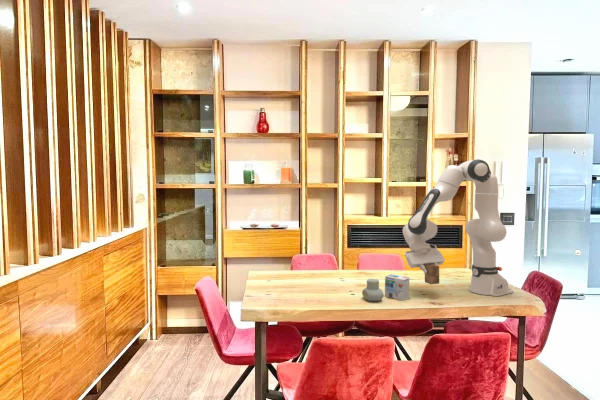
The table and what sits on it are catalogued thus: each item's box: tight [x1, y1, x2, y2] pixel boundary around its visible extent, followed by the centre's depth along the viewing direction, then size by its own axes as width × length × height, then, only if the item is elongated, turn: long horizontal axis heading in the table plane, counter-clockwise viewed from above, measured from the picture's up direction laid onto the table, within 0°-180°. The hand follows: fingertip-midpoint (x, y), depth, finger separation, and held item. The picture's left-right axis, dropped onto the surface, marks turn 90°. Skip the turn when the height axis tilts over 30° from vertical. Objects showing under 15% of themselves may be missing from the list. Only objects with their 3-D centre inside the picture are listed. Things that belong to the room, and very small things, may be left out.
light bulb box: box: [384, 273, 410, 301], centre depth 192 cm, size 11×7×11 cm, turn 47°
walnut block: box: [424, 264, 440, 285], centre depth 191 cm, size 5×5×9 cm
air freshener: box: [361, 278, 385, 302], centre depth 187 cm, size 11×8×10 cm
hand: (432, 272), depth 190 cm, fingers closed on walnut block, 5 cm apart
